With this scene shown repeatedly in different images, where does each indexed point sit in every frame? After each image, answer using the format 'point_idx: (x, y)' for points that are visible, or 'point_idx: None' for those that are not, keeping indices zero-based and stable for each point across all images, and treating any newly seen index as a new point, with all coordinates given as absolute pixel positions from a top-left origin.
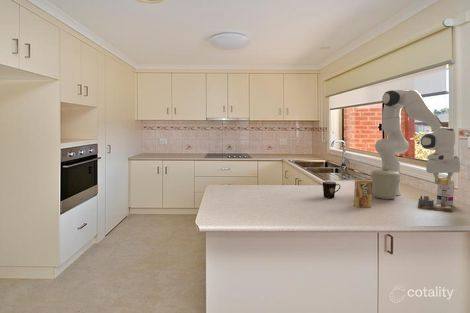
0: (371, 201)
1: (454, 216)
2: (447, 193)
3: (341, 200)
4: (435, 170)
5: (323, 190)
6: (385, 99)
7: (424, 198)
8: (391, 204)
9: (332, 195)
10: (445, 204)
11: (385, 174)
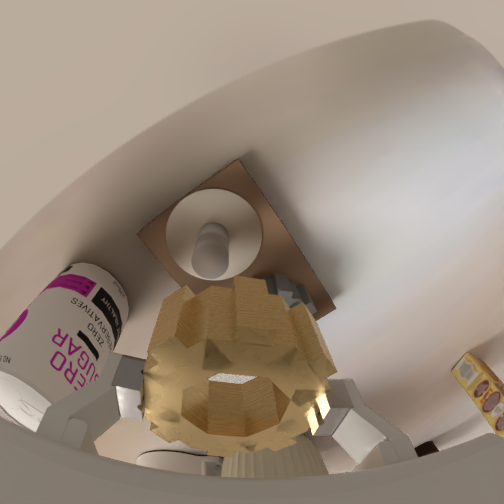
0: (477, 365)
1: (339, 95)
2: (82, 315)
3: (432, 426)
4: (485, 467)
5: None
6: None
7: None
8: (367, 376)
9: (430, 448)
10: (213, 227)
11: None
